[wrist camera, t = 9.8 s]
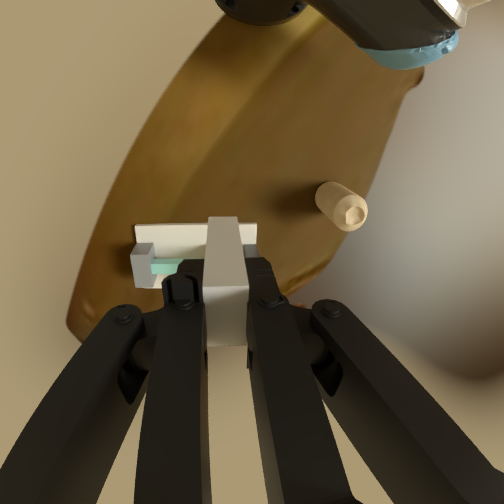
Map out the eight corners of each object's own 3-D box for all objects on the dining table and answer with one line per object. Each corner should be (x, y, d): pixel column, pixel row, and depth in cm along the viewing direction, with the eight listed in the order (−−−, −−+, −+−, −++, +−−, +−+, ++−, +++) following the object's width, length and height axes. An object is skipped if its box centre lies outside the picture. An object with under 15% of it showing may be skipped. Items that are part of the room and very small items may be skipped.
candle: (321, 217, 47) (343, 241, 38) (309, 189, 45) (332, 208, 36) (348, 204, 47) (376, 225, 38) (338, 175, 44) (366, 191, 35)
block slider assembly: (136, 224, 44) (126, 238, 39) (256, 222, 46) (261, 236, 41) (144, 285, 49) (138, 304, 44) (253, 284, 52) (257, 303, 46)
